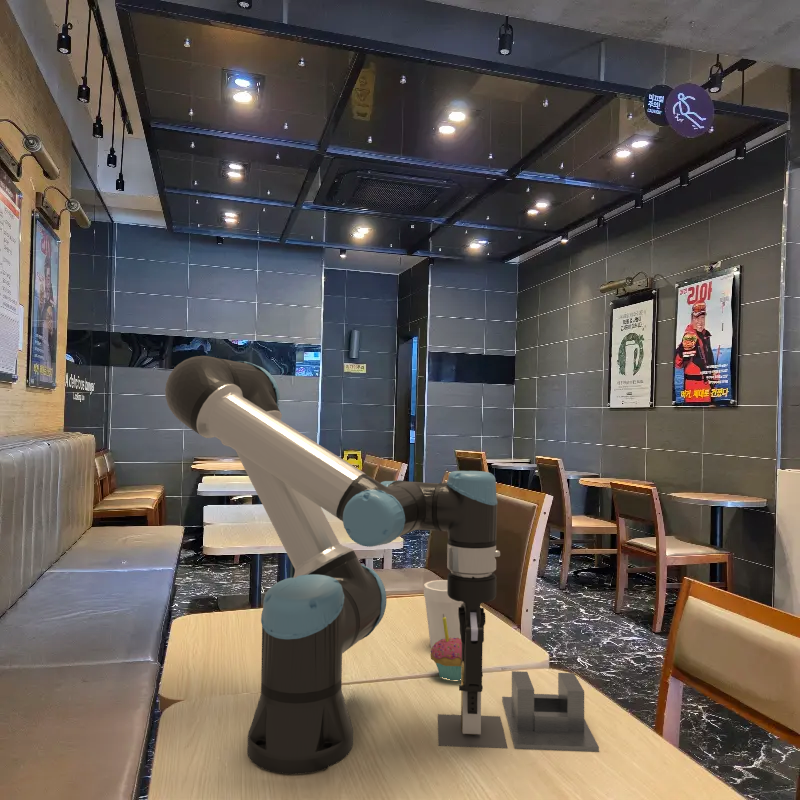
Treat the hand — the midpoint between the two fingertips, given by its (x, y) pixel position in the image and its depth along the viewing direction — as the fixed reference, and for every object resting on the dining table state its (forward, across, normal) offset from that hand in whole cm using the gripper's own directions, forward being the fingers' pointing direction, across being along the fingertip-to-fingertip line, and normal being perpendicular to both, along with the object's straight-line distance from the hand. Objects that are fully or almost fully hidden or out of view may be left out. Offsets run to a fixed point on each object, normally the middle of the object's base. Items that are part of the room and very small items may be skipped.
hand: (470, 726), depth 96 cm
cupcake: (+1, +21, +2) cm, 21 cm away
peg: (+1, 0, 0) cm, 1 cm away
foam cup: (+1, +37, +3) cm, 37 cm away
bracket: (+1, +3, -12) cm, 12 cm away
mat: (+1, 0, 0) cm, 1 cm away
